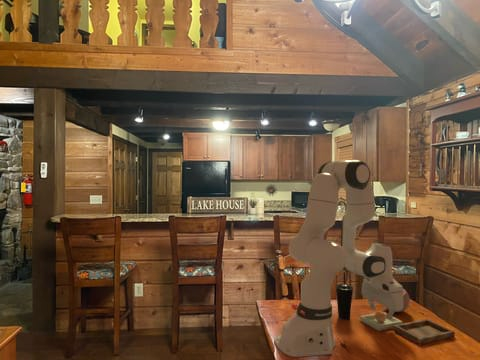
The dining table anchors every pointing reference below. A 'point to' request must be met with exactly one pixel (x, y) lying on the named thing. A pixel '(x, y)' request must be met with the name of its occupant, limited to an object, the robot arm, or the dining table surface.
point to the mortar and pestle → (405, 300)
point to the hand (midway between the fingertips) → (380, 313)
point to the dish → (424, 331)
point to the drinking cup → (344, 300)
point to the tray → (379, 326)
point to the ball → (380, 316)
